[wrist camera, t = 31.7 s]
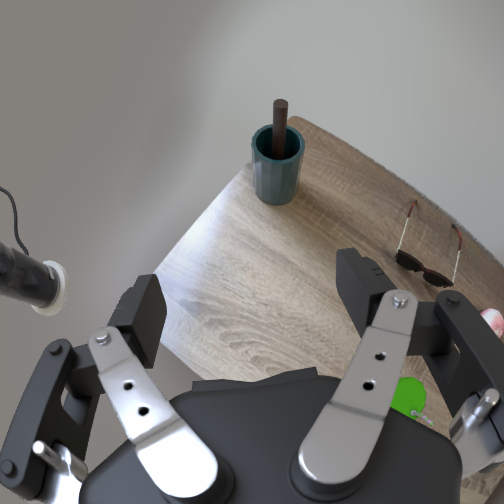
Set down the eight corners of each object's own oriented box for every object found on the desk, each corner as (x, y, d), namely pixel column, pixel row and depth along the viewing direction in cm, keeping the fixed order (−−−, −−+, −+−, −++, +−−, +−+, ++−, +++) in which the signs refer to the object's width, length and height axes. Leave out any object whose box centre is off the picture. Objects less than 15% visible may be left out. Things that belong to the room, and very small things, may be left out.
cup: (358, 378, 45) (392, 388, 31) (396, 368, 45) (440, 372, 31) (361, 418, 43) (395, 441, 29) (400, 406, 43) (442, 422, 29)
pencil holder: (247, 194, 57) (242, 151, 44) (266, 163, 59) (266, 117, 46) (285, 212, 56) (291, 171, 42) (303, 179, 58) (312, 135, 44)
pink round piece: (463, 340, 46) (484, 338, 39) (471, 305, 48) (492, 299, 41) (486, 350, 44) (507, 348, 38) (493, 316, 46) (514, 311, 40)
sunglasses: (387, 260, 52) (397, 250, 47) (407, 199, 57) (417, 187, 52) (440, 292, 49) (454, 285, 44) (455, 230, 54) (467, 220, 49)
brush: (261, 189, 56) (258, 107, 36) (271, 172, 58) (273, 90, 37) (281, 198, 56) (289, 118, 35) (291, 181, 57) (301, 99, 36)
